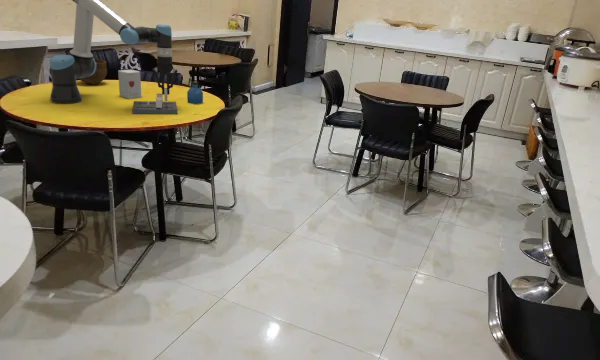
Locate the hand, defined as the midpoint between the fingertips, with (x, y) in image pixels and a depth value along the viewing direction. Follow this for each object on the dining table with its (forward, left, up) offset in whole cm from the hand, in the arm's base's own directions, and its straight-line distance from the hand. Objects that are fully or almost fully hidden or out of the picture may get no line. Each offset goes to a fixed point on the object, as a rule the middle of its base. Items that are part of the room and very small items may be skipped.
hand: (166, 100), depth 248 cm
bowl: (-45, +64, -4) cm, 78 cm away
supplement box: (-20, +27, -4) cm, 34 cm away
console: (-6, -5, -4) cm, 9 cm away
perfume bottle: (+16, +13, -4) cm, 21 cm away
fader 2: (-4, -10, -2) cm, 11 cm away
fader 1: (-3, 0, -2) cm, 4 cm away
